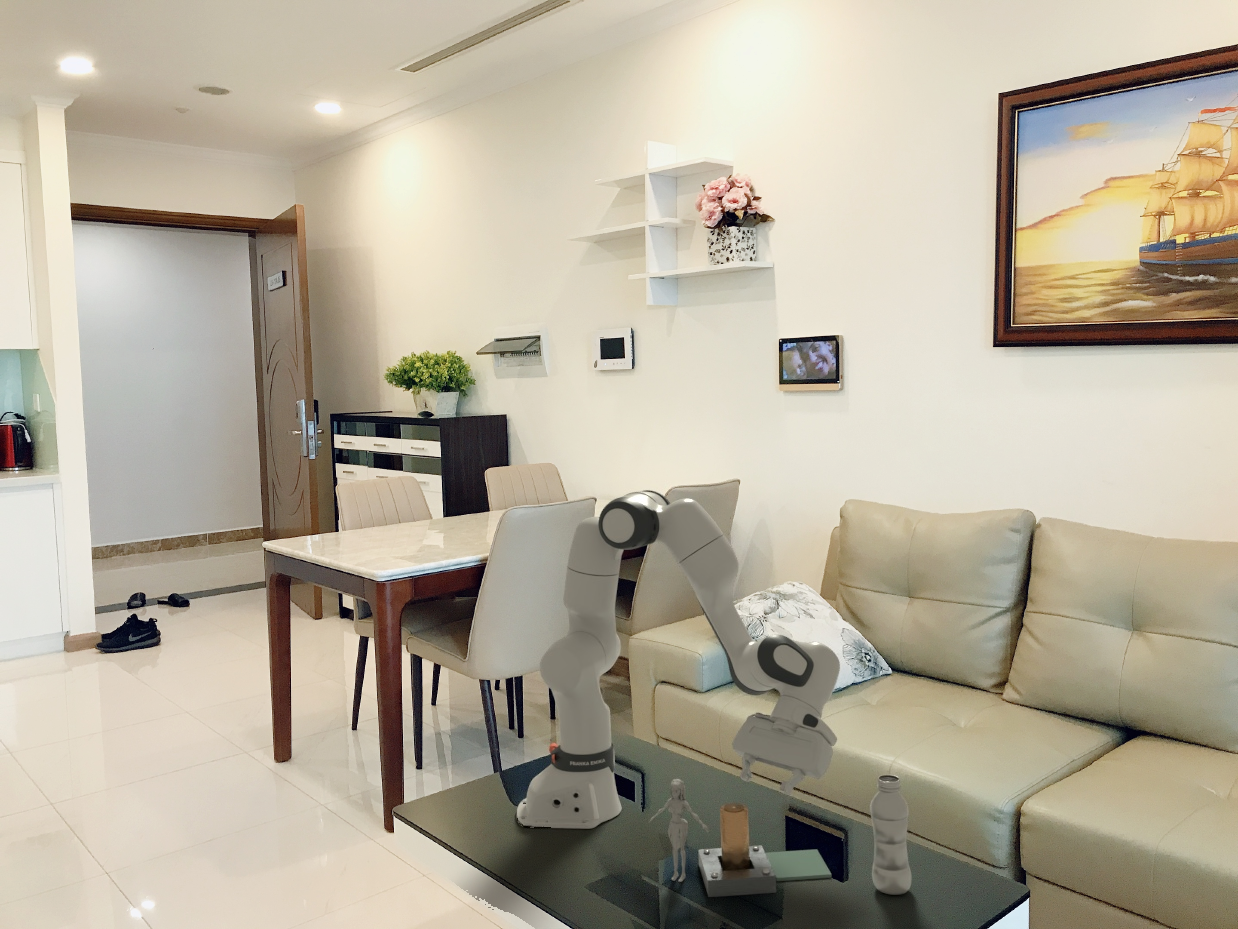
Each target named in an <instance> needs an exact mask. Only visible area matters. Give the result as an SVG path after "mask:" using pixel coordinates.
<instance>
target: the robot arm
mask: <svg viewBox="0 0 1238 929" xmlns="http://www.w3.org/2000/svg"><path fill="white" fill-rule="evenodd" d="M655 542H656V543H660V544H662V545H664V547H666V548H667V550H669V552H670V553H671V555H672V556H673V558H674V560H675V562H676V563H677V564H678V566H679V568H680V570H681V571H682V573H683V575H684V576H685V577H686V579H687V581H688V583H689V585H690V586H691V588H692V591H693V592H694V594H695V597H696V599H697V602H698V604H699V605H700V608H701V611H702V612H703V614H704V617H705V618H706V620H707V622H708V624H709V625H710V628H711V630H712V631H713V632H714V635H715V636H716V639H717V640H718V642H719V644H720V646H721V647H722V650H723V652H724V654H725V657H726V660H727V664H728V670H729V675H730V678H731V679H732V681H733V683H734V685H735V686H736V687H737V688H738V689H739V690H740V691H742V692H743V693H745V694H748V695H750V696H763V695H765V694H767V693H769V692H770V691H772V690H773V689H775V690H777V691H778V693H779V697H778V699H777V701H776V703H775V706H774V707H773V710H772V712H771V713H770V715H769V714H763V713H761V712H754V713H753V714H751V715H748V716H747V718H746V719H745V721H744V722H743V724H742V726H741V727H740V728H739V729H738V731H737V733H736V735H735V736H734V738H733V740H732V741H731V746H732V750H733V751H734V752H735V753H736V754H737V755H738V756H739V757H741V762H742V763H741V764H742V769H741V772H740V774H739V778H740V779H741V780H742V781H745V782H748V783H749V782H751V780H752V778H753V776H754V773H753V772H751V766H753V765H754V763H755V762H758V763H762V764H765V765H769V766H771V767H774V768H779V769H781V770H785V771H789V772H791V774H792V775H791V777H789V778H788V779H787V780H782V782H781V785H780V786H779V790H780V792H782V793H783V794H785V795H788V796H789V795H790V796H791V793H792V792H793V789H794V788H796V787H797V786H798V785H799V784H800V783H802V782H803V780H804V778H805V776H806V777H810V778H811V779H815V780H820V779H822V778H823V777H824V776H825V775H826V774H827V772H828V770H829V766H830V764H831V761H832V758H833V754H834V749H833V747H834V746H835V745H836V743H837V742H838V738H837V736H836V734H835V732H834V731H833V730H832V729H831V728H830V727H829V725H828V724H827V723H826V722H825V721H824V720H823V719H822V716H823V710H824V707H825V706H826V704H827V703H828V702H829V701H830V699H831V697H832V696H833V695H832V694H833V692H834V690H835V687H836V684H837V682H838V680H839V675H840V671H841V663H840V659H839V657H838V656H837V654H836V653H835V652H834V650H832V649H831V648H830V647H829V646H827V645H825V644H823V643H821V642H819V641H811V642H810V641H809V642H806V641H805V642H803V641H799V640H798V641H797V640H794V639H791V638H789V637H788V636H785V635H784V634H783V635H782V634H771V635H768V636H766V637H764V638H761V639H759V640H757V641H756V640H755V639H753V637H752V636H751V634H750V632H749V630H748V629H747V627H746V624H745V623H744V621H743V619H742V618H741V615H740V614H739V612H738V610H737V608H736V606H735V603H734V599H733V592H734V591H733V590H734V585H735V582H736V580H737V576H738V572H739V559H738V557H737V555H736V552H735V550H734V548H733V547H732V545H731V543H730V541H729V539H728V538H727V536H726V535H725V534H724V532H723V531H722V530H721V528H720V527H719V525H718V524H717V522H716V521H715V520H714V519H713V518H712V516H711V515H710V514H709V513H708V512H707V510H706V509H705V508H704V507H703V506H702V504H700V503H699V502H698V501H697V500H695V499H693V498H680V499H676V500H675V501H673V502H670V501H669V499H668V498H667V497H666V496H665V495H664V494H661V493H660V492H657V491H654V490H650V489H648V490H647V489H646V490H640V491H632V492H629V493H627V494H625V495H624V494H623V496H621V497H616V498H614V499H612V500H611V501H610V502H608V503H607V504H606V505H605V506H604V507H603V509H602V510H601V512H600V514H599V516H590V517H586V518H584V519H583V520H581V521H580V522H579V523H578V524H577V526H576V528H575V532H574V535H573V538H572V541H571V545H570V549H569V554H568V558H567V559H568V560H567V566H566V575H565V582H564V583H565V584H564V589H563V590H564V592H563V605H564V606H565V608H566V609H567V614H568V623H569V624H568V625H569V626H568V632H567V634H566V636H564V637H562V638H559V639H558V640H556V641H555V642H553V643H552V644H551V646H549V648H548V649H547V650H546V651H545V653H544V654H543V656H542V658H541V660H540V663H539V672H540V677H541V679H542V681H543V682H544V684H545V685H546V686H547V687H548V688H549V689H550V690H551V693H552V696H553V698H554V702H555V705H556V710H557V714H558V715H557V716H558V730H559V733H558V734H559V745H558V744H557V743H555V742H552V743H551V744H550V745H549V747H548V752H549V753H550V765H548V766H546V768H545V769H544V770H542V771H541V772H540V773H539V774H536V775H535V777H533V778H532V780H531V781H530V783H529V786H528V789H527V792H526V797H525V798H523V799H522V800H520V802H519V804H518V805H517V808H516V819H517V818H518V820H519V821H520V822H521V823H522V824H523V825H532V826H542V827H543V826H544V827H551V828H550V829H582V830H583V829H587V830H588V829H589V830H590V829H594V828H596V827H597V826H598V825H600V824H601V823H604V822H607V821H608V820H611V819H613V818H615V817H616V816H618V815H619V814H621V812H622V804H621V801H620V797H619V795H618V791H617V786H616V779H615V772H614V771H615V766H616V762H615V760H616V759H615V758H616V757H615V749H614V743H613V742H612V729H611V728H612V727H611V726H612V725H611V711H610V710H611V709H610V707H609V705H608V704H607V703H606V702H605V701H604V698H603V695H602V691H601V687H600V678H601V676H602V675H604V674H605V673H606V672H608V671H610V669H611V668H613V666H614V665H615V663H616V662H617V660H618V659H619V656H620V654H621V650H622V649H621V648H622V645H621V644H622V643H621V640H620V637H619V635H618V633H617V624H616V622H617V621H616V601H617V590H618V583H619V576H620V569H621V561H622V555H623V553H624V550H625V551H626V550H627V551H628V550H634V549H638V548H641V547H645V546H649V545H651V544H652V545H653V543H655ZM523 803H526V804H523Z"/></svg>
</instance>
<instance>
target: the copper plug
mask: <svg viewBox="0 0 1238 929" xmlns="http://www.w3.org/2000/svg"><path fill="white" fill-rule="evenodd" d="M719 816H720V842H721V845H720V846H721V847H720V848H721V850H722V871H729V870H744V869H750V858H749V846H750V835H749V834H750V833H749V832H750V829H749V808H748V806H747V805H745V804H743V803H738V802H729V803H724V804H722V805H721V806H720V807H719Z"/></svg>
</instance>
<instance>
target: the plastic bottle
mask: <svg viewBox="0 0 1238 929" xmlns="http://www.w3.org/2000/svg"><path fill="white" fill-rule="evenodd" d="M876 788H877V790H878V791H877V793H875V795H874V796H873V798H872V799H871V801H870V804H869V813H870V819H871V824H872V829H873V837H874V839H873V841H874V842H873V843H874V850H873V851H874V853H873V863H872V868H871V878H872V882H873V885H874V887H875V888H876V889H877V890H878V891H879V892H881V893H884V894H887V895H893V896H894V895H895V896H896V895H904V894H905V893H907V892H908V891H909V890H910V888H911V885H912V878H913V877H912V871H911V868H910V865H909V855H908V850H907V848H908V847H907V844H908V843H907V836H908V835H907V833H908V822H909V816H910V815H909V812H910V809H909V806H908V803H907V801H906V799H905V798H904V797H903V795H902V794H901V793H900V791H901V790H902V789H901V779H900V777H899V776H897V775H894V774H881V775H879V776H878V777H877V786H876Z"/></svg>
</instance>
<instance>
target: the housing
mask: <svg viewBox="0 0 1238 929" xmlns="http://www.w3.org/2000/svg"><path fill="white" fill-rule="evenodd" d="M697 852H698V866H699V870H700V873H701V877H702V879H703V883H704V887H705V889H706V893H707V897H708V898H714V897H715V898H716V897H717V898H718V897H728V896H729V897H730V896H733V897H734V896H745V895H748V896H749V895H758V894H772V893H773V894H775V893H777V880H776V876H775V873H774V871H773V869H772V867H771V865H770V862H769V860H768V858H767V856H766V854H765V853H766V852H765V850H764V848H763V845H749V858H750V869H744V870H729V871H722V850H721V847H720V848H719V847H717V848H702V849H698V851H697Z"/></svg>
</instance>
